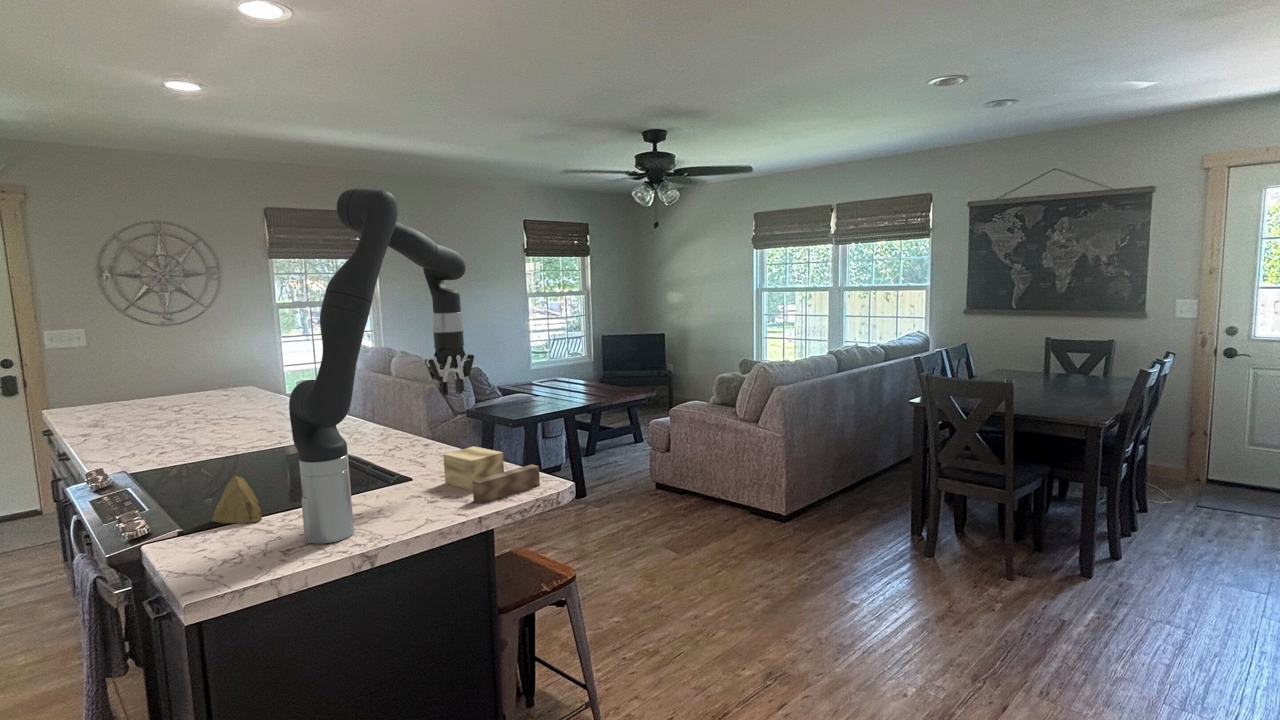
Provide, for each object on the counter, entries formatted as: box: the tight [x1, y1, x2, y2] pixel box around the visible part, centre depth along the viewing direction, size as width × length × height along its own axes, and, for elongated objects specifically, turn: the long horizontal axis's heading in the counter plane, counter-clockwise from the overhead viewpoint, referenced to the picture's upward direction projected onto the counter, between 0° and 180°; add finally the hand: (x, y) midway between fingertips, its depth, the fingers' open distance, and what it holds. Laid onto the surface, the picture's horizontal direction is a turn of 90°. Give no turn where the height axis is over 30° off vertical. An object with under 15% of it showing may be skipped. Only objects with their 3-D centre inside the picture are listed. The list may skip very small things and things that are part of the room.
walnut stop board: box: [472, 463, 541, 504], centre depth 168 cm, size 18×3×5 cm, turn 137°
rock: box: [211, 475, 263, 524], centre depth 153 cm, size 11×9×10 cm
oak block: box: [443, 445, 505, 492], centre depth 178 cm, size 10×12×8 cm
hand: (452, 394), depth 178 cm, fingers open, 3 cm apart
